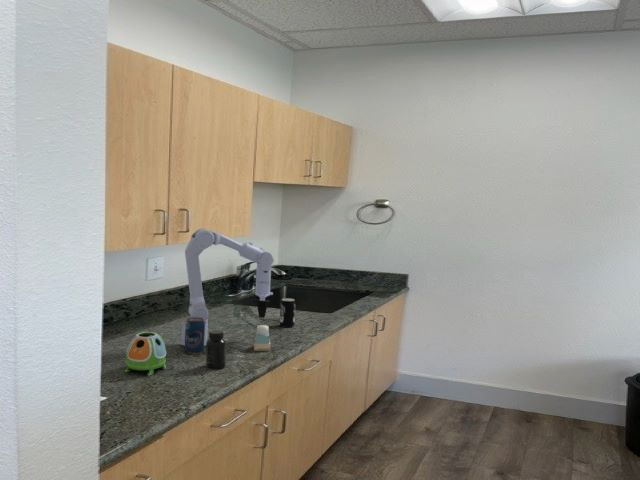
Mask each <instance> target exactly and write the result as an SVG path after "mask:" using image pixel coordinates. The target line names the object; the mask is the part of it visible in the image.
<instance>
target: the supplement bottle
mask: <svg viewBox="0 0 640 480" xmlns="http://www.w3.org/2000/svg"><path fill="white" fill-rule="evenodd" d="M224 334H225V333H224V331H222V330H216V329H215V330H210V331H209V333H208V338H207V342H206V346H205V367H206V368H207V369H209V370H222V369H224V368H226V366H227V341H226V339H224V337H225V336H224Z"/></svg>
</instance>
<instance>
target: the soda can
mask: <svg viewBox="0 0 640 480" xmlns="http://www.w3.org/2000/svg"><path fill="white" fill-rule="evenodd" d="M185 322H186V323H185V324H186V325H185V346H184V350H185V351H186V353H188V354H194V355H195V354H201V353H202V352H203V351H204V350H205V346H204V336H205V323H204V321H203V319H202V318H190V317H188V318H187V321H185Z"/></svg>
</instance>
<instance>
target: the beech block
mask: <svg viewBox="0 0 640 480" xmlns="http://www.w3.org/2000/svg"><path fill="white" fill-rule="evenodd" d="M253 342H254V343H253V351H255V352H256V351H257V352H258V351H259V352H271V339H269V344H256V339H254V341H253Z"/></svg>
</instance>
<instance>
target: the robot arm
mask: <svg viewBox="0 0 640 480" xmlns="http://www.w3.org/2000/svg"><path fill="white" fill-rule="evenodd" d="M212 245H215V246H217V245H223V246H226V247H227V248H230V249H232V250H234V251H237V252H238V254H239V256H240V257H242V258H244V259H246V260H249V261H250V262H253V263H256V276H255V278H256V279H255V292H254V295H255V299H254V300H255V301H254V302H255V304H256V306H257V307H256V308H257V313H258V318H261V319H262V318H263V319H264V318H265V317H266V312H267V308H268V306H269V304H270V300H269V299H270V296H273V295H274V292H272V291H271V278H272V277H271V276H272V265H273V263H274V261H275V259H274V258H273V255H272V254H271V253H270V252H268V251H265V250H264V248H262V247H260V248H259V247H257V246H255V245H253V242H252V243H251V242H250V241H249V242H244V243H240V242H238V241H236V240H235V239H232V238H230V237H228V236H226V235H223V234H221V233H219V232H215V231H212V230H207V229H206V228H199V229H197V230H195V231H194V232H193V233H192V234H191V236H190V240H189V241H188V244H187V246H185V247H186V248H185V249H184V250H185V251H184V255H185V256H184V257H185V263H186V273H187V279H188V280H187V281H188V288H189V307H188V308H187V309H188V313H189V316H190V317H189V318H202V319H203V321H204V323H205V336H204V347H206V342H207V340H208V328H209V326H208V324H209V323H208V322H209V320H208V318H209V315H210V312H209V310H208V308H207V307H206V301H205V298H204V290H203V285H202V284H203V283H202V274H201V273H202V272H201V267H200V266H201V265H200V257H199V256H200V255H201V254H202V253H203V252H204V251H205V250H206V249H208V248H209V247H211V246H212ZM185 325H186V323H184V324H183V325H182V326H181V330H180V331H181V333H180V334H181V336H180V337H181V338H180V343H179V345H181V346H184V347H185Z"/></svg>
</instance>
